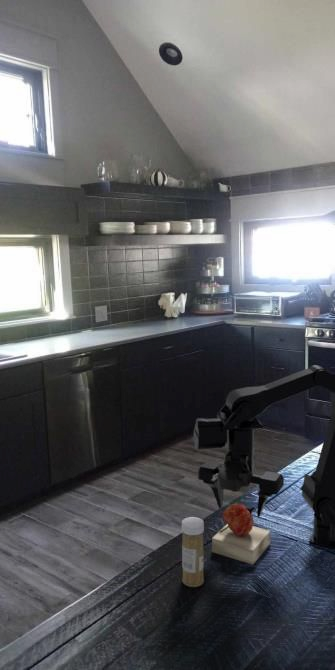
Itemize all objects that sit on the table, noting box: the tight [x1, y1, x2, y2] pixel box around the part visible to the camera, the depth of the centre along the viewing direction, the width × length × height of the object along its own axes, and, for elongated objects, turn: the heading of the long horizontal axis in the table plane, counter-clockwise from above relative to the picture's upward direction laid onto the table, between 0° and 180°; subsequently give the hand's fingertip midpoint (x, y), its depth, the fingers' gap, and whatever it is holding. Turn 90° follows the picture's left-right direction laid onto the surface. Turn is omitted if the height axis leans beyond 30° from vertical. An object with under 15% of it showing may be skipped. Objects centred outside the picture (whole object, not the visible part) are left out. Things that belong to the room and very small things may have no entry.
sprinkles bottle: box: [181, 516, 205, 588], centre depth 117 cm, size 5×5×14 cm
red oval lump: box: [219, 503, 257, 537], centre depth 130 cm, size 7×7×10 cm
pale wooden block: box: [211, 523, 271, 565], centre depth 130 cm, size 10×10×4 cm
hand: (239, 512), depth 129 cm, fingers open, 9 cm apart
